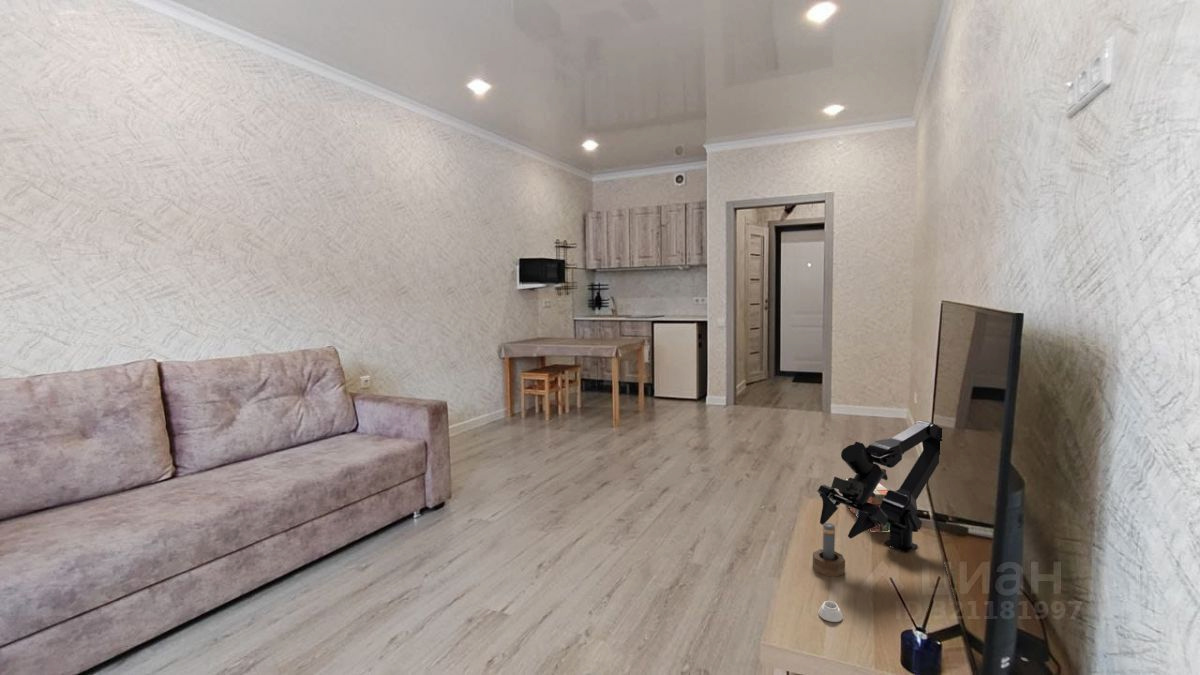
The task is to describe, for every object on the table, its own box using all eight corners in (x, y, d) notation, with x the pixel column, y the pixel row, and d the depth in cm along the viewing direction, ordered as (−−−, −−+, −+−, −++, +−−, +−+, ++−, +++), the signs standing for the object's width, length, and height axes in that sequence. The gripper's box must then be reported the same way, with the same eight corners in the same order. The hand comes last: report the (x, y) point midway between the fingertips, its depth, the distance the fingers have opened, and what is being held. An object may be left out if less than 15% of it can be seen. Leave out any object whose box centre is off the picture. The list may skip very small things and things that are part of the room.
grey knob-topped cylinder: (830, 565, 145) (831, 522, 144) (836, 571, 142) (837, 527, 141) (820, 566, 144) (820, 523, 143) (825, 572, 141) (826, 528, 140)
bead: (824, 559, 148) (824, 547, 148) (849, 570, 142) (849, 558, 142) (807, 567, 144) (807, 554, 144) (832, 579, 138) (832, 566, 138)
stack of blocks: (844, 504, 185) (845, 470, 184) (863, 504, 184) (864, 470, 183) (870, 532, 164) (871, 493, 162) (892, 533, 163) (893, 493, 162)
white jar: (835, 609, 125) (814, 611, 125) (835, 597, 125) (814, 599, 125) (846, 623, 120) (825, 624, 120) (847, 610, 120) (825, 611, 120)
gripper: (822, 456, 152) (792, 501, 149) (880, 476, 135) (848, 528, 132) (842, 478, 156) (813, 523, 153) (901, 501, 139) (870, 551, 136)
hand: (834, 530), depth 143 cm, fingers open, 9 cm apart
